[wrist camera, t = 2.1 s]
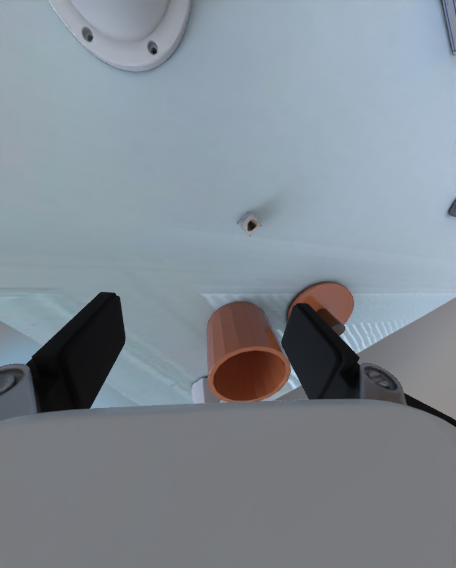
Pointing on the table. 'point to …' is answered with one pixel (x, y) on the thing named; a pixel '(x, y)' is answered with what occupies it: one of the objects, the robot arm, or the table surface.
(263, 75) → the table surface
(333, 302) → the lid
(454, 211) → the key chain
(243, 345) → the canister
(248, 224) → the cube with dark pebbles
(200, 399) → the flask
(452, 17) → the medicine box
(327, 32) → the table surface
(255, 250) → the table surface
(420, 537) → the robot arm
